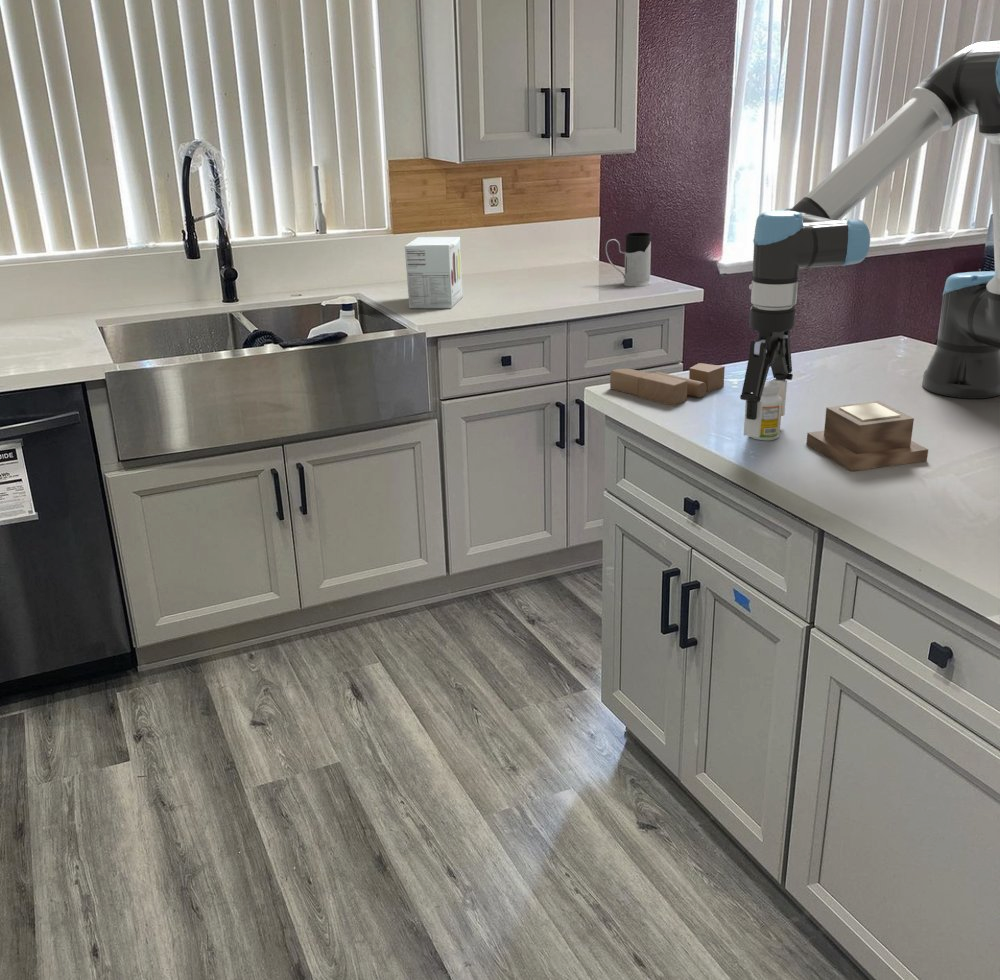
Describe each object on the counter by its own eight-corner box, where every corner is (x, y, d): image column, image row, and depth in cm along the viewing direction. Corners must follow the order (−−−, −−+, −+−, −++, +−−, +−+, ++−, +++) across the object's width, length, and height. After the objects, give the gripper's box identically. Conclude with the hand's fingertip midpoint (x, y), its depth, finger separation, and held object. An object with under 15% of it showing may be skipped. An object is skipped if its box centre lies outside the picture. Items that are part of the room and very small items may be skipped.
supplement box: (453, 309, 286) (449, 245, 279) (408, 309, 288) (403, 245, 281) (464, 296, 301) (461, 235, 294) (421, 296, 304) (417, 236, 297)
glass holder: (652, 286, 304) (653, 236, 299) (605, 287, 306) (605, 237, 300) (650, 280, 312) (652, 231, 307) (605, 281, 314) (605, 233, 308)
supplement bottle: (756, 429, 182) (760, 377, 178) (784, 434, 179) (788, 382, 175) (743, 437, 178) (746, 385, 175) (771, 443, 175) (775, 390, 171)
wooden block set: (677, 381, 194) (608, 365, 206) (676, 409, 196) (608, 391, 208) (729, 363, 204) (660, 348, 217) (728, 389, 206) (660, 374, 219)
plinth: (877, 434, 177) (882, 394, 174) (926, 460, 165) (932, 419, 162) (806, 443, 174) (809, 403, 171) (851, 471, 162) (855, 428, 159)
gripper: (775, 290, 181) (767, 403, 189) (725, 318, 162) (718, 442, 170) (816, 293, 177) (806, 408, 185) (770, 322, 158) (761, 449, 166)
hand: (764, 424), depth 178 cm, fingers open, 12 cm apart
